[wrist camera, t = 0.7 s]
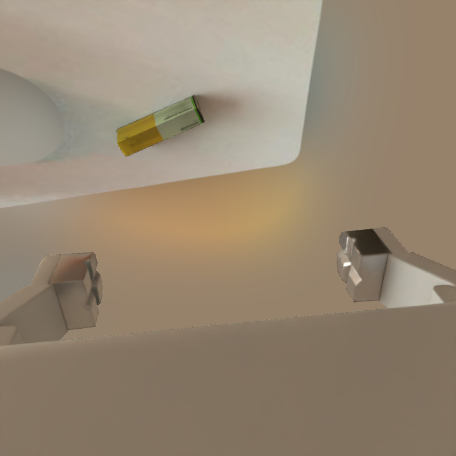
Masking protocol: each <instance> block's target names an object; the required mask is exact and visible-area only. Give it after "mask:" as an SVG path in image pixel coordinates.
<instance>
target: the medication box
mask: <svg viewBox="0 0 456 456" xmlns="http://www.w3.org/2000/svg"><path fill="white" fill-rule="evenodd" d="M204 122H205V120H204V118H203V115H202V112H201V109H200V106H199V103H198V101H197V99H196V98H195V96H194V95H193V96H192V97H189V98H187V99H185V100H183V101H180V102H178V103H176V104H173V105H171V106H169V107H167V108H164V109H162V110H160V111H158V112H155V113H153V114H151V115H149V116H146V117H144V118H142V119H140V120H137V121H135V122H133V123H131V124H128V125H126V126H124V127H122V128H119V129H117V131H116V132H117V144H118V146H119V147H120V149H121V151H122V152H123V153H124V155H125V156H126V157H127V156H129V155H131V154H134V153H136V152H138V151H141V150H143V149H145V148H147V147H150V146H152V145H154V144H157V143H159V142H161V141H163V140H166V139H168V138H170V137H172V136H175V135H177V134H179V133H182V132H184V131H186V130H188V129H191V128H193V127H195V126H197V125H200V124H202V123H204Z"/></svg>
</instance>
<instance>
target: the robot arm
mask: <svg viewBox="0 0 456 456" xmlns="http://www.w3.org/2000/svg"><path fill="white" fill-rule="evenodd" d="M339 243H340V245H341V247H342V249H341V251H340V252H339V253H338V255H337V268H338V273H339V276H340V278H341V280H342V281H344V282H346V283H347V291H348V293H349V294H350V296H351V298H352V300H353V302H361V301H377V300H379V302H381V303H382V304H383V305H385V306H386V307H388V308H387V309H376V310H365V311H355V312H345V313H334V314H324V315H314V316H304V317H294V318H284V319H273V320H264V321H253V322H243V323H233V324H222V325H212V326H202V327H191V328H181V329H170V330H161V331H150V332H141V333H130V334H120V335H109V336H99V337H88V338H78V339H68V340H60V339H61V338H62V337H63V336H64V335H65V334H66V333H67V332H68V331H67V330H73V329H82V328H90V327H95V326H96V321H97V317H98V307H97V305H99V304H100V303H101V299H102V281H101V276H100V274H99V273H98V272H97V271H96V267H97V259H96V255H95V254H94V253H93V252H87V253H72V254H56V255H47V256H44V257H43V259H42V261H41V264H40V266H39V268H38V270H37V272H36V274H35V276H34V278H33V281H32V283H31V285H30V286H25V287H23V288H22V289H21V290H19V291H17V292H16V293H14V294H13V295H11V296H10V297H8V298H7V299H5V300H4V301H2V302H1V303H0V456H456V270H453V269H451V268H449V267H446V266H444V265H442V264H439V263H437V262H435V261H432V260H430V259H427V258H425V257H423V256H420V255H418V254H416V253H413V252H411V253H408V251H406V249H405V248H404V247H403V246H402V244H401V243H400V242H399V241H398V240H397V239H396V237H395V236H394V235H393V234H392V233H391V231H390V230H389V229H388V228H386V227H382V228H374V229H366V230H356V231H347V232H342V233H341V235H340V240H339Z"/></svg>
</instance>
